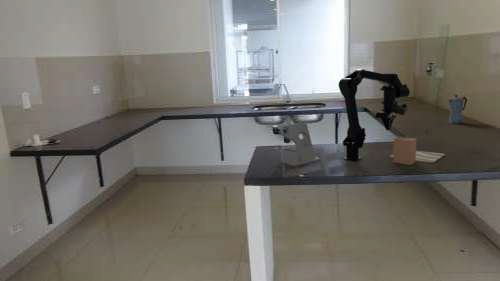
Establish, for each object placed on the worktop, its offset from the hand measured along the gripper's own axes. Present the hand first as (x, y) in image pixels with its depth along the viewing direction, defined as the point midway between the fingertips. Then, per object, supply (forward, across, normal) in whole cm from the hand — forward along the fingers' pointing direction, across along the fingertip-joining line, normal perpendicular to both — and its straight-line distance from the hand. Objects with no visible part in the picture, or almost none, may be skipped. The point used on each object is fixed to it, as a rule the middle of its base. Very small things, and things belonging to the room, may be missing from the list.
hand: (388, 130), depth 187 cm
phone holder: (+12, -37, +28) cm, 48 cm away
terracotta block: (+12, -12, -13) cm, 21 cm away
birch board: (+12, +2, -14) cm, 18 cm away
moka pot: (+12, +110, -3) cm, 111 cm away
